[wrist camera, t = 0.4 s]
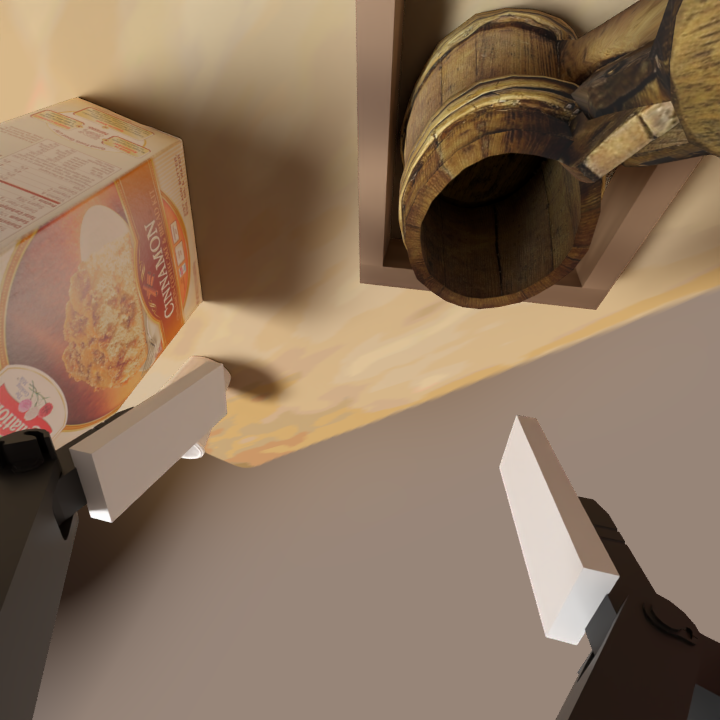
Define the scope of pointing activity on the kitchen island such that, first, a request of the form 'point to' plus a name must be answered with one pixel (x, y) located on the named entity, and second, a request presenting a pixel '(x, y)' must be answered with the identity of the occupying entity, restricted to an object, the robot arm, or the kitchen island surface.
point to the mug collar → (377, 162)
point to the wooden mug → (545, 138)
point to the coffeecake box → (88, 263)
